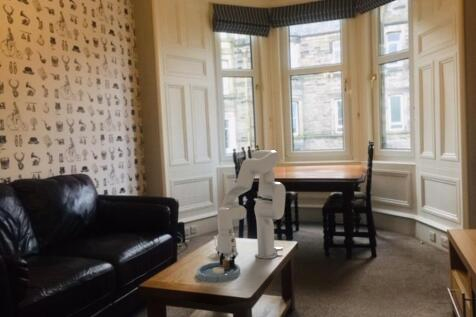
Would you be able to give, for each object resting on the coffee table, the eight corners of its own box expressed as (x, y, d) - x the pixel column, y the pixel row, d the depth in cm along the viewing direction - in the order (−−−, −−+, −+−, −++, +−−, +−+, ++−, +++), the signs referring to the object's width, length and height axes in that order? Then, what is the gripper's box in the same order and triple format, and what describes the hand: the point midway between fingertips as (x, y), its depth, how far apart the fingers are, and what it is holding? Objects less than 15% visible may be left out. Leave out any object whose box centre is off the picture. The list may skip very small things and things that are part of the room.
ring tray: (233, 264, 218) (233, 259, 218) (244, 278, 197) (244, 273, 197) (194, 270, 212) (194, 264, 212) (201, 284, 192) (201, 279, 192)
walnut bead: (230, 267, 212) (230, 258, 212) (232, 270, 208) (232, 260, 207) (222, 268, 211) (221, 259, 210) (224, 271, 206) (223, 261, 206)
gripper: (243, 232, 204) (244, 267, 206) (219, 227, 216) (221, 260, 218) (232, 235, 199) (234, 271, 200) (208, 230, 211) (210, 264, 212)
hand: (227, 265), depth 209 cm, fingers open, 6 cm apart
